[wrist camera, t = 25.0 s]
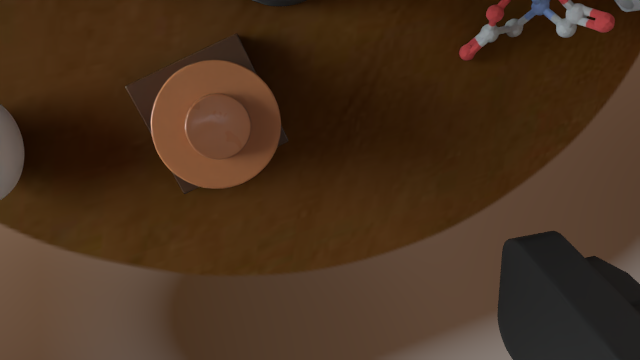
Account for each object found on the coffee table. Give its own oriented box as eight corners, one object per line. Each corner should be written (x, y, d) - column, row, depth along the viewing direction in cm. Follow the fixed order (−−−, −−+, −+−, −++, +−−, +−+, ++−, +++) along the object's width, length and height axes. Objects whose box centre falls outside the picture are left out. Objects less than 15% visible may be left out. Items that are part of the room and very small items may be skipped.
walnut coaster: (126, 85, 33) (124, 86, 32) (234, 34, 34) (236, 32, 32) (183, 189, 35) (184, 194, 33) (284, 138, 36) (289, 141, 34)
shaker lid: (133, 91, 32) (124, 95, 26) (235, 42, 32) (248, 36, 27) (186, 189, 33) (189, 214, 28) (282, 140, 34) (304, 155, 28)
